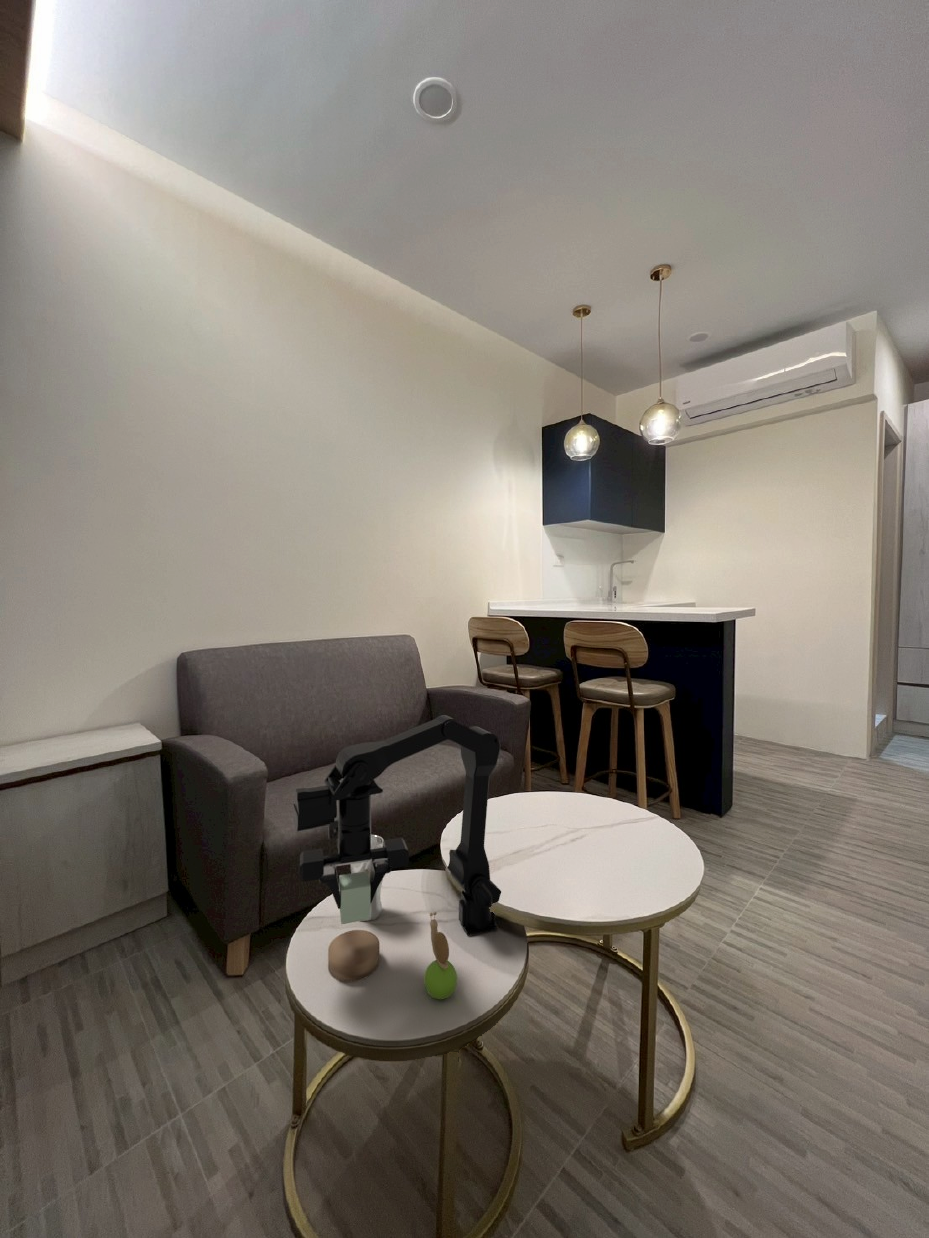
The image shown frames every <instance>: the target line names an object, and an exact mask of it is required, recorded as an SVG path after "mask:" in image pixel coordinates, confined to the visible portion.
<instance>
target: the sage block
mask: <svg viewBox="0 0 929 1238" xmlns="http://www.w3.org/2000/svg"><path fill="white" fill-rule="evenodd" d="M338 876H339V878H338V885H339V892H340V899H341V909H339V915H340V925H346V924H350V923H356V922H364V921H363V920H369V919H370V892H371V886H370V881H369V877H368V872H367V871H364V872H358V873H347V874H340V875H338Z"/></svg>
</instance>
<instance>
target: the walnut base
mask: <svg viewBox="0 0 929 1238" xmlns="http://www.w3.org/2000/svg"><path fill="white" fill-rule="evenodd" d="M327 950H328V951H327V954H328V955H327V957H328V958H327V961H328V962H327V964H328V965H327V969H328V972H329V974H330V975H331V977H333V978H334V979H336V980H337V981H341V982H348V983H349V982H357V981H360V980H363V979H364V980H365V978H367V977H369V976H371V975H372V974H373V973H374V972H376V970H377V968H378V967H379V963H380V940H379V938H378V936H377V935H376V934H374V933H373V932H371V931H368V930H364V929H352V930H348V931H345V932H343V933H341V934H339V935H338V936H336V937H335V938H334V939H332V941H331V942H330V943H329V946H328V948H327Z"/></svg>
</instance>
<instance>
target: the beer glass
mask: <svg viewBox="0 0 929 1238" xmlns="http://www.w3.org/2000/svg"><path fill="white" fill-rule="evenodd" d="M383 840H384V838H383V837H382V836H379V835H376V834H371V849H373V848H375V847H381V846H383ZM370 870H371V861H369V862H362V863H355V864H350V872H351V873H358V872H364V871H367V872H368V877H369V880H370ZM351 873H350V874H351ZM383 879H384V878H383ZM383 879H382V881H381V883H380V884H379V886H378V888H377V891H376V893H375V895H374V898H373V900H372V902H371V903H370V919H369V920H363V921H362V922H369V921H373V920H376V919H378V918H379V917H380V916H381V915H382V913H383V906H382V901H381V892H382V890H381V889H382V883H383Z"/></svg>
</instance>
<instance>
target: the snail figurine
mask: <svg viewBox="0 0 929 1238" xmlns="http://www.w3.org/2000/svg"><path fill="white" fill-rule="evenodd" d="M436 915H437V912H436V911H433V912H430V913H429V916H430V917H433V916H434V919H430V923H429V925H430V939H431V946H432V952H433V955H434V957H435V960H433V961H432V962H431V963H430V964H429V965H428V966H427V968H426V970H425V973H424V977H423V978H424V979H423V981H424V986H425V989H426V991H427V993H428V994H429V995H430V996H431V998H434V999H436V1000H443V999H446V998H448V997H450V996H451V995H452V994H453V993H454V991H455V989H456V987H457V985H458V974H457V970H456V968H455V966H454V965H453V963H452V962H450V961H449V958H450V949H449V948H450V947H449V943H448V939H447V937H446V935H445V934H444V933H443V932H442V931H438V927H439V926H438V925H439V924H438V923H439V922H438V921H437V920H436Z"/></svg>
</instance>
